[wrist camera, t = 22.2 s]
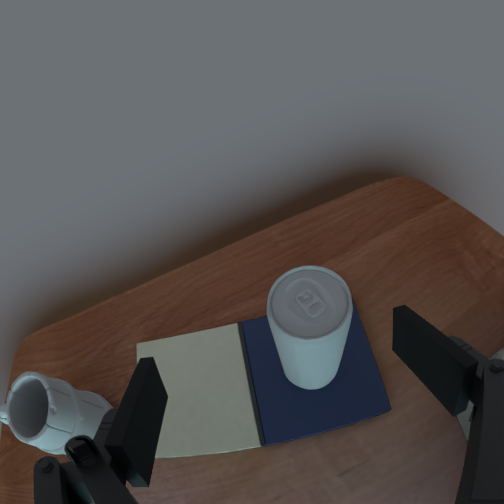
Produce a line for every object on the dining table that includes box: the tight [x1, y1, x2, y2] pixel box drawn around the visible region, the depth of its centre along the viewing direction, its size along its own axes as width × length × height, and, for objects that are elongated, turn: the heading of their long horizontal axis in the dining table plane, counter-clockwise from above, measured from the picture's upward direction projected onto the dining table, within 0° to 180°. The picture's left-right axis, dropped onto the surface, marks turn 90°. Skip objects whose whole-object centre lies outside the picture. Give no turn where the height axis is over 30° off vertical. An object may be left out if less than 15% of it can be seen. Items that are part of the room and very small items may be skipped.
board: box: [137, 297, 391, 458], centre depth 26 cm, size 22×12×1 cm, turn 100°
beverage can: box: [267, 265, 353, 389], centre depth 21 cm, size 5×5×12 cm
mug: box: [0, 371, 113, 455], centre depth 20 cm, size 8×12×12 cm, turn 104°
